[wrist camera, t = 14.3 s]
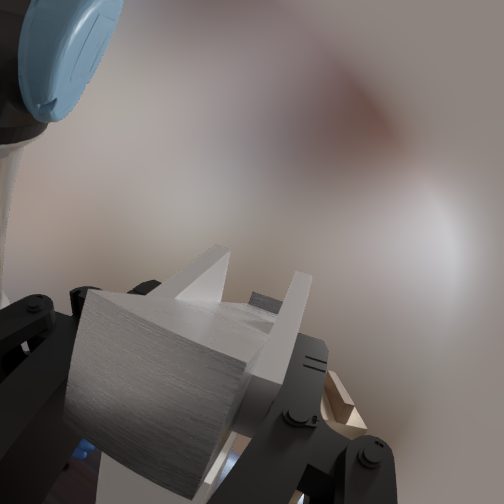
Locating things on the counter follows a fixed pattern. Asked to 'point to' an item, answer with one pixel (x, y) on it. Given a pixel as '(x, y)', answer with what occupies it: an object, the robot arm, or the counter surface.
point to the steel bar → (164, 380)
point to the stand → (337, 414)
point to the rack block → (148, 493)
